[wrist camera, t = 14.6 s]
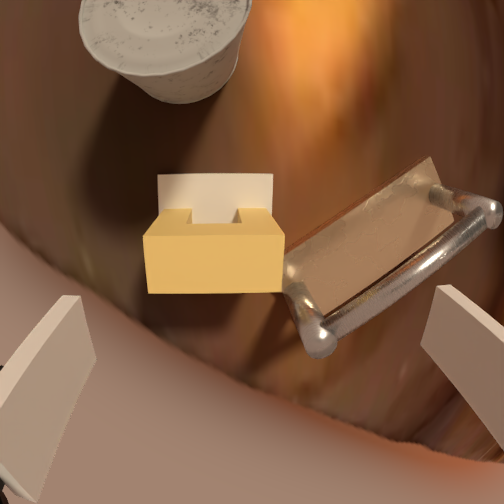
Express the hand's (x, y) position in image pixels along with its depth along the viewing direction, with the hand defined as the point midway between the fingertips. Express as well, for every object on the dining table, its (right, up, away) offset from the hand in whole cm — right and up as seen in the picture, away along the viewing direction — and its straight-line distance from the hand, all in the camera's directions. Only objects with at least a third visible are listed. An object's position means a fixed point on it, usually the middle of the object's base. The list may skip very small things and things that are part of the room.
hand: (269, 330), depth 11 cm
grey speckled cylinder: (-7, +20, +13) cm, 25 cm away
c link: (-4, +5, +18) cm, 19 cm away
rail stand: (+11, +4, +20) cm, 24 cm away
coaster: (-4, +5, +18) cm, 20 cm away
